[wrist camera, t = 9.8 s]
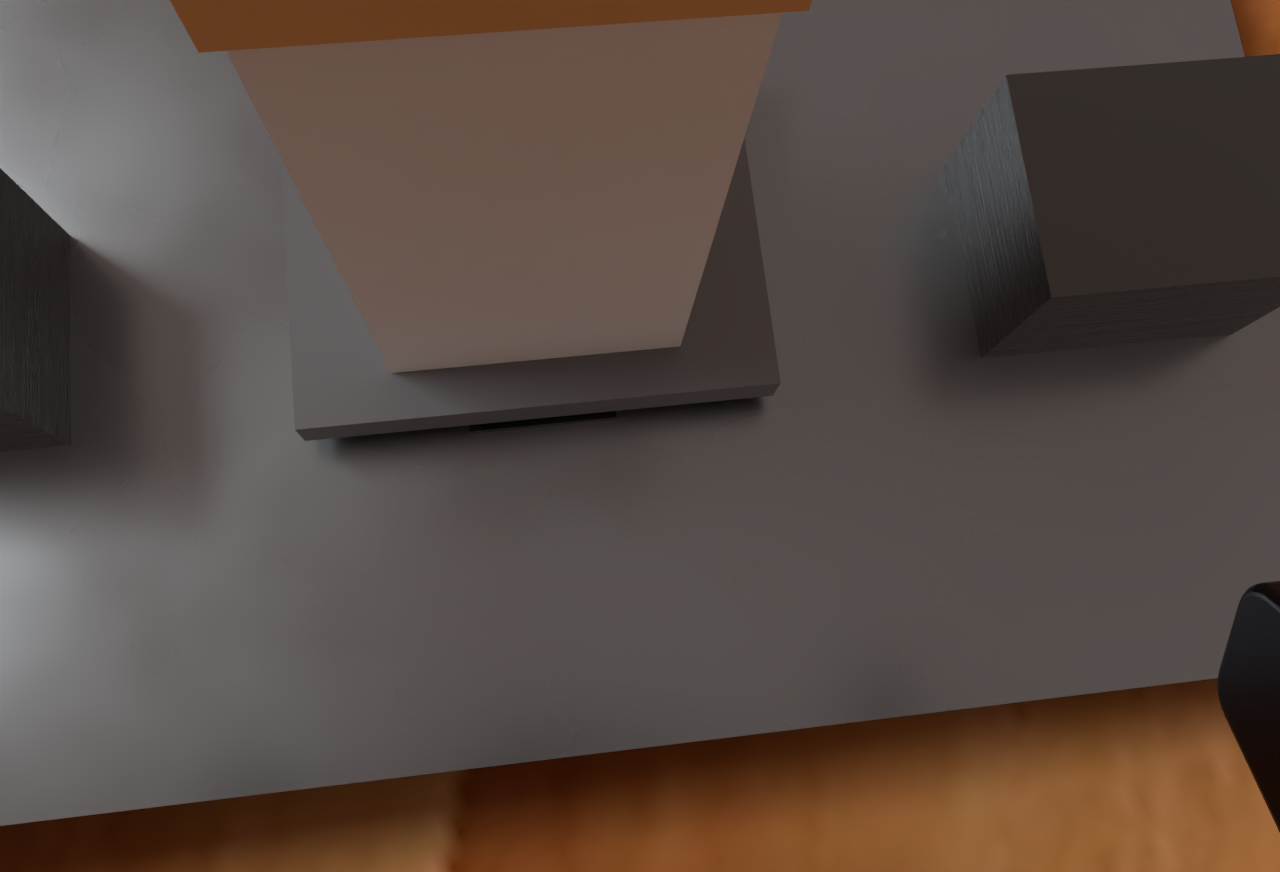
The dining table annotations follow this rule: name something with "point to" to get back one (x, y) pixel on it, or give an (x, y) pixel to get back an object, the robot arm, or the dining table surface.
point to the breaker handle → (510, 202)
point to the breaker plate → (642, 423)
